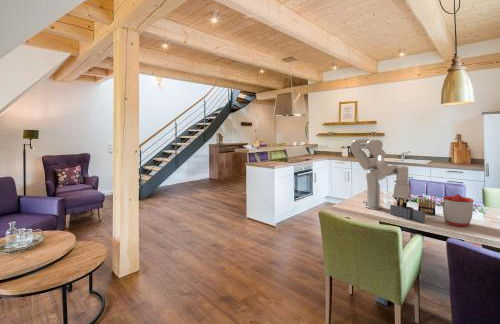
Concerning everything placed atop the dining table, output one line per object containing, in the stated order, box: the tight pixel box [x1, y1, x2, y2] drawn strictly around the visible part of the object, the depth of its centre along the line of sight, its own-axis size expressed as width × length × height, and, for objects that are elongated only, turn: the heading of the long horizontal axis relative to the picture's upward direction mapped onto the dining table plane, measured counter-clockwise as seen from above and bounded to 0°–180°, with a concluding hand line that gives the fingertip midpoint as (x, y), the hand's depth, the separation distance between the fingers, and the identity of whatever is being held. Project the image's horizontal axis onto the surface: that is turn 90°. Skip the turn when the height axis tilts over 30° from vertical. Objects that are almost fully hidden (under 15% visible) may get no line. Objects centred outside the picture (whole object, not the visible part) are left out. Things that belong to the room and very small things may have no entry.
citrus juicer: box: [439, 193, 474, 227], centre depth 168 cm, size 16×17×20 cm
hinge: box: [389, 204, 425, 224], centre depth 183 cm, size 23×8×8 cm, turn 37°
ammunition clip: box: [417, 197, 436, 216], centre depth 191 cm, size 11×2×12 cm, turn 46°
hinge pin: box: [399, 198, 404, 207], centre depth 193 cm, size 3×3×14 cm
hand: (401, 206), depth 193 cm, fingers open, 3 cm apart
